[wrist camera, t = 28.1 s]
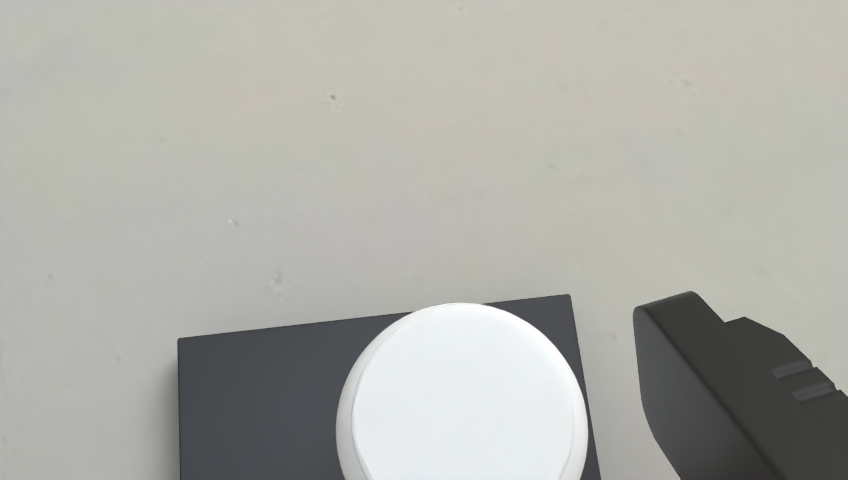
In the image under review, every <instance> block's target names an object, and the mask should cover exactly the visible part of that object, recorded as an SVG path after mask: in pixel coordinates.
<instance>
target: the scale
mask: <svg viewBox="0 0 848 480" xmlns="http://www.w3.org/2000/svg"><path fill="white" fill-rule="evenodd" d="M481 305H486V306H491V307H494V308H497V309H500V310H504V311H506V312H509V313H511V314H513V315H515V316H517V317H519V318H521V319H522V320H524V321H526V322H528V323H529V324H531V325H532V326H533V327H535V328H536V329H537V330H539V331H540V332H541V333H542V334H544V335H545V336H546V337H547V338H548V339H549V340H550V341H551V342H552V344H553V345H554V346H555V347H556V348H557V349H558V350H559V352H560V353H561V354H562V356H563V357H564V358H565V360H566V362H567V363H568V365H569V366H570V368H571V370H572V372H573V374H574V375H575V377H576V380H577V382H578V385H579V387H580V390H581V392H582V396H583V399H584V403H585V409H586V414H587V424H588V444H587V453H586V459H585V463H584V468H583V471H582V474H581V477H580V480H601V477H600V471H599V465H598V459H597V453H596V447H595V441H594V435H593V429H592V423H591V417H590V411H589V405H588V399H587V393H586V387H585V381H584V374H583V368H582V362H581V356H580V350H579V344H578V338H577V332H576V326H575V320H574V314H573V308H572V302H571V296H570V295H569V294H565V295H556V296H547V297H538V298H529V299H520V300H512V301H503V302H494V303H485V304H481ZM411 313H413V312H406V313H397V314H388V315H379V316H370V317H362V318H353V319H344V320H335V321H326V322H317V323H309V324H300V325H291V326H282V327H273V328H265V329H256V330H247V331H238V332H229V333H220V334H212V335H203V336H194V337H185V338H179V339H178V341H177V345H178V395H179V445H180V480H345V477H344V475H343V472H342V469H341V465H340V461H339V457H338V451H337V443H336V418H337V411H338V406H339V400H340V397H341V393H342V390H343V387H344V384H345V382H346V379H347V377H348V375H349V373H350V371H351V369H352V367H353V366H354V364H355V362H356V361H357V359H358V358H359V356H360V355H361V353H362V352H363V351H364V350H365V349H366V347H367V346H368V345H369V344H370V343H371V342H372V341H373V340H374V339H375V338H376V337H377V336H378V335H379V334H380V333H381V332H382V331H383V330H385V329H386V328H387V327H389V326H390V325H391V324H393V323H394V322H396V321H398V320H399V319H401V318H403V317H404V316H407V315H409V314H411Z"/></svg>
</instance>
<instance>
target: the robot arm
mask: <svg viewBox="0 0 848 480" xmlns="http://www.w3.org/2000/svg"><path fill="white" fill-rule="evenodd" d="M633 326H634V336H635V345H636V354H637V364H638V373H639V382H640V392H641V400H642V405H643V409H644V412H645V415H646V419H647V421H648V424H649V427H650V429H651V431H652V433H653V436H654V438H655V440H656V441H657V443H658V445H659V446H660V448H661V450H662V451H663V453H664V454H665V456H666V457H667V459H668V460H669V462H670V463H671V465H672V466H673V468H674V469H675V471H676V473H677V474H678V476H679V477H680V479H681V480H848V397H847V396H846V395H845V394H844V393H843V392H842V391H841V390H838V391H837V390H836V388H835V385H834V383H833V382H832V381H831V380H830V379H829V378H828V377H827V376H826V375H825V374H824V373H823V372H822V371H821V370H819V369H818V368H817V367H815V368H814V367H813V366H812V364H811V361H810V360H809V359H808V358H807V357H806V356H805V355H804V354H803V353H802V352H801V351H800V350H799V349H798V348H797V347H796V346H795V345H794V344H792V343H791V342H790V341H789V340H788V339H787V338H786V337H785V336H784V335H783V334H781V333H778V332H776V331H774V330H772V329H770V328H768V327H766V326H763V325H761V324H759V323H757V322H755V321H753V320H751V319H748V318H746V317H742V318H739V319H735V320H732V321H729V322H725V323H724V321H723V320H722V319H721V318H720V317H719V316H718V315H717V314H716V313H715V312H714V311H713V310H712V309H711V308H710V307H709V306H708V305H707V303H706V302H705V301H704V300H703V299H702V298H701V297H700V296H699V295H698V294H696V293H695V292H692V291H688V292H685V293H682V294H678V295H675V296H671V297H668V298H665V299H661V300H658V301H654V302H651V303H648V304H644V305H641V306H638V307H636V308H635V309H634V312H633Z"/></svg>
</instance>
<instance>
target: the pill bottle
mask: <svg viewBox="0 0 848 480" xmlns="http://www.w3.org/2000/svg"><path fill="white" fill-rule="evenodd" d="M336 443H337V451H338V457H339V461H340V465H341V469H342V472H343V475H344V477H345V480H580V477H581V474H582V471H583V468H584V463H585V459H586V453H587V444H588V424H587V414H586V409H585V403H584V399H583V396H582V392H581V390H580V387H579V385H578V382H577V380H576V377H575V375H574V374H573V372H572V370H571V368H570V366H569V365H568V363H567V362H566V360H565V358H564V357H563V356H562V354H561V353H560V352H559V350H558V349H557V348H556V347H555V346H554V345H553V344H552V342H551V341H550V340H549V339H548V338H547V337H546V336H545V335H544V334H542V333H541V332H540V331H539V330H537V329H536V328H535V327H533V326H532V325H531V324H529V323H528V322H526V321H524V320H522V319H521V318H519V317H517V316H515V315H513V314H511V313H509V312H506V311H504V310H500V309H497V308H494V307H491V306H486V305H481V304H473V303H448V304H441V305H436V306H431V307H427V308H424V309H421V310H418V311H415V312H413V313H411V314H409V315H407V316H404V317H403V318H401V319H399V320H398V321H396V322H394V323H393V324H391V325H390V326H389V327H387V328H386V329H385V330H383V331H382V332H381V333H380V334H379V335H378V336H377V337H376V338H375V339H374V340H373V341H372V342H371V343H370V344H369V345H368V346H367V347H366V349H365V350H364V351H363V352H362V353H361V355H360V356H359V358H358V359H357V361H356V362H355V364H354V366H353V367H352V369H351V371H350V373H349V375H348V377H347V379H346V382H345V384H344V387H343V390H342V393H341V397H340V400H339V406H338V411H337V418H336Z"/></svg>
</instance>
